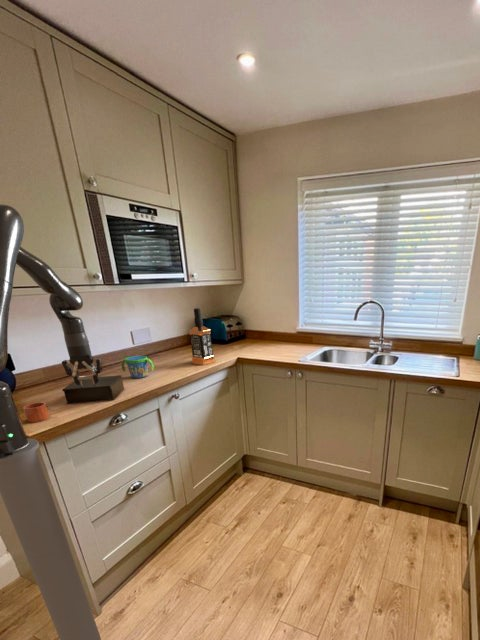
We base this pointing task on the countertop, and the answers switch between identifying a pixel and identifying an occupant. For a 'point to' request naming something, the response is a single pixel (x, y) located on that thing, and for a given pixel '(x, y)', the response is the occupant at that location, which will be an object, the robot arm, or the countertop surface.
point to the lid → (92, 383)
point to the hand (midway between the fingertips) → (87, 383)
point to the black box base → (94, 394)
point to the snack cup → (137, 366)
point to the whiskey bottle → (201, 341)
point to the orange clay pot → (36, 412)
